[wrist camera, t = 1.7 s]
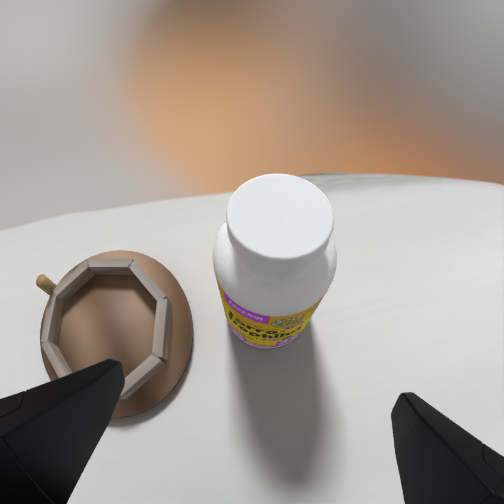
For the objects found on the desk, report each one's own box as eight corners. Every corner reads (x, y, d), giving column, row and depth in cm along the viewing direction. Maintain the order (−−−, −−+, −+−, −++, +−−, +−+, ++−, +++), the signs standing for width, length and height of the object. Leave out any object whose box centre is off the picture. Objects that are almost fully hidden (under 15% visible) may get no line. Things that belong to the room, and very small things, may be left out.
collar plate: (101, 450, 17) (78, 454, 14) (26, 320, 22) (3, 306, 19) (232, 336, 22) (228, 322, 19) (129, 227, 28) (115, 203, 25)
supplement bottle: (217, 341, 22) (179, 264, 11) (236, 267, 26) (223, 151, 14) (302, 357, 22) (353, 295, 10) (313, 281, 25) (354, 171, 14)
